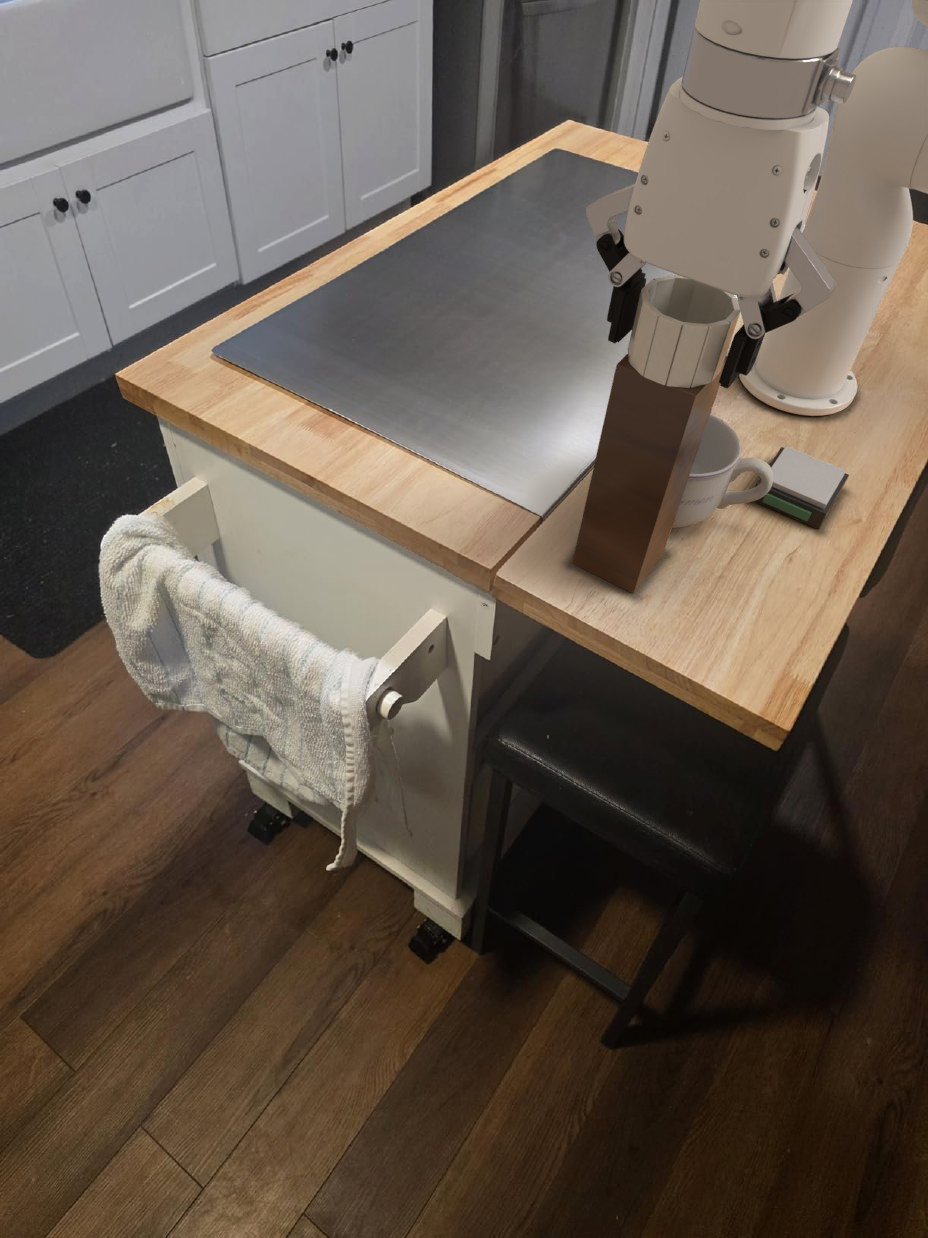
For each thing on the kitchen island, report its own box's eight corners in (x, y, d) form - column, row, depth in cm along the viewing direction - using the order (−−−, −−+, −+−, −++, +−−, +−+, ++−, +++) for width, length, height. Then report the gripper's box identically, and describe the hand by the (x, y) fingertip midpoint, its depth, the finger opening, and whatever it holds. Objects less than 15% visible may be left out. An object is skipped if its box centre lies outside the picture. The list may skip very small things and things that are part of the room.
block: (603, 524, 79) (653, 326, 64) (663, 553, 77) (729, 356, 62) (571, 563, 76) (616, 363, 60) (633, 594, 74) (695, 396, 59)
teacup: (581, 510, 80) (597, 441, 74) (634, 450, 86) (652, 382, 80) (721, 578, 76) (750, 510, 70) (766, 509, 82) (796, 442, 76)
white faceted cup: (652, 324, 64) (667, 264, 61) (733, 356, 62) (754, 296, 58) (612, 364, 60) (625, 303, 57) (697, 399, 58) (716, 338, 55)
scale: (774, 462, 86) (783, 441, 84) (841, 490, 84) (852, 469, 82) (748, 500, 82) (757, 479, 80) (817, 531, 80) (828, 510, 78)
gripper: (931, 97, 47) (811, 376, 60) (641, 20, 52) (590, 291, 66) (892, 140, 43) (773, 430, 56) (581, 51, 48) (540, 335, 62)
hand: (675, 354), depth 61 cm, fingers open, 7 cm apart
